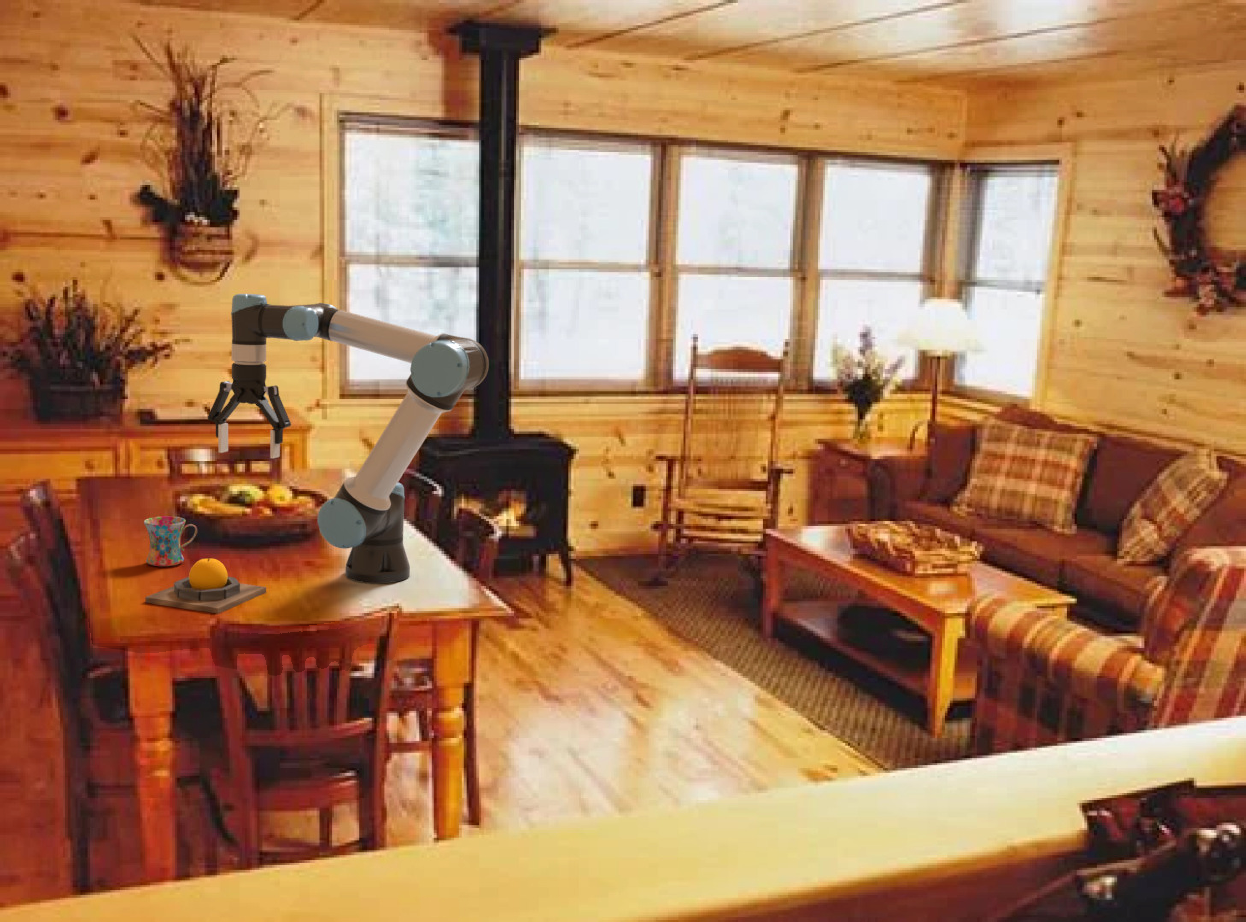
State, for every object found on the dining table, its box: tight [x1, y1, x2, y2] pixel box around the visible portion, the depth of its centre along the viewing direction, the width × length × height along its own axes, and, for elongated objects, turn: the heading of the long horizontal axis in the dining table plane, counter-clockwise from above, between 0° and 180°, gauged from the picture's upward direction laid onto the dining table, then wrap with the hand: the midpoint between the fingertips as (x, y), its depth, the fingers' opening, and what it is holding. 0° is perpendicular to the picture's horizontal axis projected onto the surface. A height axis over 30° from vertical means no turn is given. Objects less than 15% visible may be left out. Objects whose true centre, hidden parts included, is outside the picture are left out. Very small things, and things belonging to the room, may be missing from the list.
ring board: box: [144, 576, 267, 615], centre depth 270 cm, size 18×18×3 cm
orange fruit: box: [188, 557, 229, 590], centre depth 270 cm, size 8×8×8 cm
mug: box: [143, 515, 198, 567], centre depth 295 cm, size 12×9×11 cm
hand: (249, 454), depth 284 cm, fingers open, 13 cm apart
